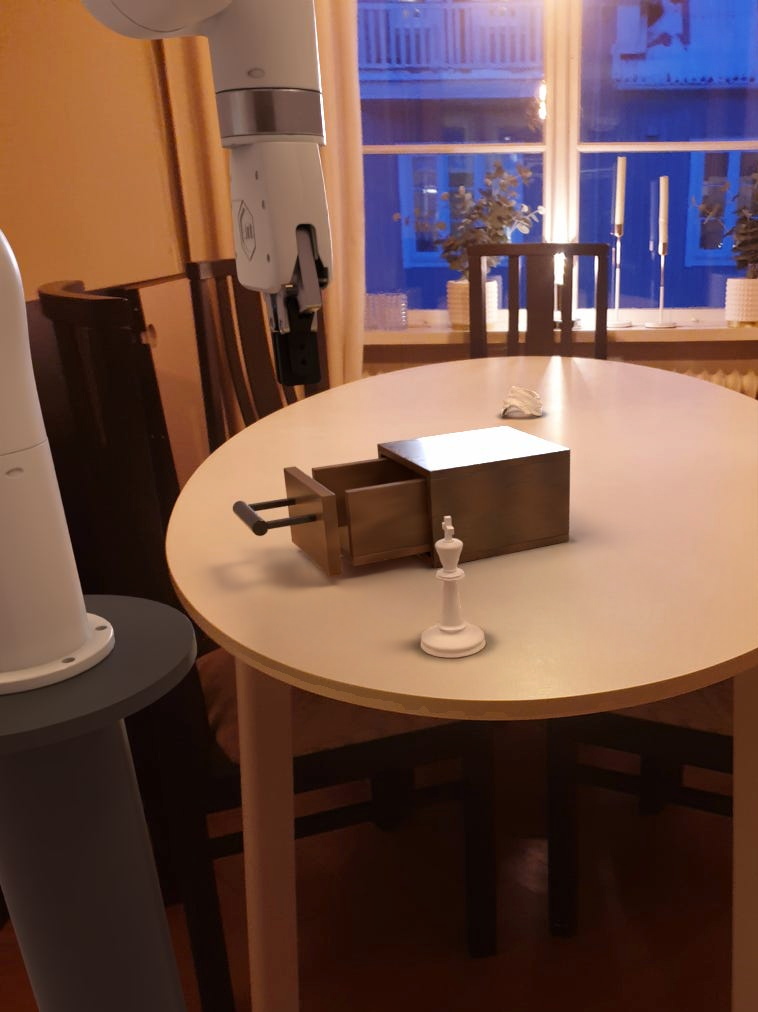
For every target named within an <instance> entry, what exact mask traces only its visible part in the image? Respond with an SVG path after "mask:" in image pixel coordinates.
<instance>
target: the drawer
mask: <svg viewBox="0 0 758 1012" xmlns="http://www.w3.org/2000/svg"><path fill="white" fill-rule="evenodd" d="M311 476H312V477H311ZM311 476H310V475H308V474H307V473H305V472H304V471H303V470H301V469H299V468H298V467H297V466H289V467H288V466H287V467H284V468H283V477H284V483H285V484H284V485H285V494H286V498H280V499H279V498H278V499H274V500H267V501H261V502H254V503H247V502H246V501H243V500H238V501H237V500H236V502H234V503H233V505H232V512H233V514H235V516H236V517H238V519H239V520H240V521H241V522H242V523H243V524H244V525H245V527H248V529H249V530H250V531H251V532H252V533H253V534H254V535H255V536H257V537H263V536H265V535H266V534H267V533H268V531H269V530H273V529H280V528H284V527H289V528H290V536H291V542H292V543H293V544H294V545H295V546H296V547H297V548H299V549H300V550H301V551H302V552H303V553H304V554H305V555H306V556H307V557H308V558H309V559H311V561H313V562H314V563H315V564H316V565H317V566H318V568H319V569H321V570H322V571H323V572H324V573H325V574H326V575H328V577H329V578H332V577H336V576H341V575H344V573H343V564H342V563H343V562H342V558H344V560H346V561H347V562H348V563H350V564H351V565H352V566H353V567H357V566H361V565H362V566H363V565H368V564H373V563H378V562H381V561H386V560H387V561H388V560H393V559H398V558H403V557H408V556H409V557H410V556H413V555H416V554H419V553H424V552H429V551H430V532H429V513H428V494H427V478H426V477H424V476H422V475H420V474H419V473H417V472H415V471H413V470H411V469H409V468H407V467H405V466H404V465H402V464H400V463H398V462H396V461H394V460H392V459H391V458H389V457H384V458H378V457H377V458H371V459H365V460H358V461H350V462H344V463H343V462H342V463H337V464H330V465H323V466H316V467H312V468H311ZM284 507H287V509H288V510H287V511H288V517H285V518H277V519H272V520H266V521H265V519H264V518H262V517H261V516H260V515H259V514H258V513H257V512H259V511H265V510H272V509H278V508H284Z"/></svg>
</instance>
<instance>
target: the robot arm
mask: <svg viewBox="0 0 758 1012" xmlns="http://www.w3.org/2000/svg"><path fill="white" fill-rule="evenodd" d="M80 2H81V4H82V5H83V7H84V8H85V9H86V10H87V12H88V13H89V14H90V15H91V16H92V17H93V18H94V19H95V20H96V21H98V22H99V23H100V24H101V25H103V26H104V27H105V28H107V29H109V30H110V31H112V32H114V33H116V34H118V35H121V36H124V37H127V38H131V39H136V40H142V41H143V40H145V41H152V40H166V39H174V38H187V37H205V38H207V42H208V51H209V59H210V66H211V74H212V81H213V82H212V83H213V90H214V95H215V104H216V112H217V120H218V121H217V122H218V128H219V129H218V130H219V135H220V136H219V137H220V147H221V148H222V149H229V192H230V193H229V194H230V207H231V209H230V210H231V220H232V221H231V222H232V232H233V243H234V254H235V264H236V266H235V267H236V276H237V280H238V282H239V283H240V284H241V286H242V287H244V289H247V290H249V291H254V292H255V291H256V292H260V293H261V294H262V299H263V301H264V302H265V304H266V311H267V317H268V323H269V329H270V330H271V333H270V334H271V343H272V351H273V359H274V361H273V362H274V369H275V377H276V378H275V379H276V382H277V383H278V384H280V385H282V386H284V387H297V386H305V385H306V386H307V385H314V384H319V383H320V382H321V381H322V373H321V362H320V351H319V343H318V342H319V341H318V334H317V333H318V310H320V309H321V308H322V305H323V302H322V301H323V300H322V296H321V291H325V290H326V289H328V288H329V286H330V285H331V284H332V282H333V280H334V258H333V257H334V255H333V244H332V233H331V223H330V215H329V214H330V213H329V208H328V207H329V205H328V200H327V192H326V185H325V178H324V173H323V172H324V171H323V166H322V161H321V160H322V159H321V155H320V149H319V148H323V147H326V146H327V140H326V139H327V138H326V130H325V117H324V105H323V94H322V93H323V91H322V81H321V68H320V57H319V47H318V46H319V45H318V33H317V32H318V31H317V21H316V11H315V10H316V9H315V0H80ZM28 325H29V323H28V316H27V306H26V297H25V290H24V286H23V281H22V276H21V271H20V269H19V265H18V261H17V259H16V255H15V254H14V250H13V248H12V247H11V244H10V242H9V241H8V239H7V237H6V235H5V233H4V232H3V230H2V229H1V228H0V695H7V694H14V693H21V692H26V691H30V690H35V689H39V688H43V687H46V686H50V685H53V684H56V683H59V682H62V681H64V680H67V679H70V678H72V677H75V676H77V675H79V674H81V673H83V672H85V671H87V670H89V669H90V668H92V667H94V666H95V665H97V664H98V663H100V662H101V661H102V660H103V659H104V658H105V657H107V656H108V655H109V653H110V652H111V650H112V649H113V648H114V644H115V637H114V632H113V628H112V626H111V624H110V623H109V622H108V621H107V620H105V619H104V618H102V617H99V616H97V615H94V614H90V613H87V612H86V608H85V603H84V599H83V595H84V594H83V590H82V586H81V581H80V577H79V572H78V568H77V563H76V559H75V555H74V550H73V546H72V541H71V537H70V533H69V532H70V531H69V527H68V523H67V519H66V518H67V517H66V514H65V509H64V505H63V501H62V496H61V491H60V487H59V482H58V478H57V474H56V470H55V464H54V460H53V456H52V455H53V454H52V451H51V447H50V441H49V438H48V436H47V431H46V427H45V422H44V417H43V414H42V408H41V404H40V398H39V394H38V390H37V384H36V378H35V374H34V367H33V362H32V361H33V360H32V353H31V346H30V335H29V326H28Z"/></svg>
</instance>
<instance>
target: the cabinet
mask: <svg viewBox="0 0 758 1012" xmlns="http://www.w3.org/2000/svg"><path fill="white" fill-rule="evenodd" d="M376 447H377V458H384V457H389V458H391V459H392V460H394V461H396V462H398V463H400V464H402V465H404V466H405V467H407V468H409V469H411V470H413V471H415V472H417V473H419V474H420V475H422V476H424V477H426V478H427V494H428V513H429V532H430V551H429V552H424V553H419V554H415V555H416V556H417V557H418V558H420V559H422V561H424V562H425V563H427V564H428V565H430V566H431V567H433V568H434V569H436V568H443V566H442V563H441V561H440V558H439V555H438V553H437V551H436V548H435V543H436V542H437V541H439V540H441V539H444V538H445V531H444V530H443V528H442V522H444V516H450V517H451V521H452V527H453V528H454V534H453V535H452V538H454V539H458V540H460V541H461V542H462V543H463V547H462V551H461V553H460V556H459V561H458V564H462V563H467V562H472V561H476V560H482V559H486V558H491V557H497V556H501V555H506V554H511V553H516V552H521V551H526V550H531V549H536V548H540V547H541V548H542V547H545V546H551V545H556V544H560V543H565V542H569V541H570V510H571V509H570V507H571V504H570V503H571V494H570V493H571V449H570V448H568V447H564V446H562V445H559V444H556V443H553V442H551V441H548V440H545V439H542V438H539V437H537V436H535V435H532V434H529V433H526V432H523V431H520V430H519V429H515V428H512V427H510V426H507V425H504V426H498V427H497V426H496V427H489V428H482V429H477V430H476V429H474V430H467V431H461V432H454V433H446V434H440V435H439V434H438V435H433V436H432V435H431V436H424V437H418V438H410V439H403V440H396V441H389V442H381V443H377V446H376Z"/></svg>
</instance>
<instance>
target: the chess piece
mask: <svg viewBox="0 0 758 1012" xmlns="http://www.w3.org/2000/svg"><path fill="white" fill-rule="evenodd" d="M442 528H443V530H444V531H445V538H444V539H441V540H439V541H437V542H436V543H435V548H436V551H437V553H438V555H439V558H440V561H441V563H442V567H441V568H440V569H438V570H437V571H436V574H435V578H436V579H437V580H439V581H443V592H442V593H443V595H442V606H441V615H440V616H441V617H440V620H439V621H438V622H437V623H436V624H435V625H432V626H430V627H428V628H426V629H425V630H424V631H423V632H422V634H421V636H420V649H422V651H423V652H424V653H426V654H428V655H430V656H434V657H438V658H445V659H448V658H449V659H452V658H453V659H454V658H455V659H456V658H463V657H469V656H471V655H474V654H476V653H478V652H480V651H481V650H482V649H483V648H484V647H485V646H486V639H485V633H484V631H483V630H482V629H481V628H480V627H478V626H476V625H474V624H472V623H469V622H468V621H467V620H465V619H464V616H463V611H462V607H461V601H460V594H459V586H458V581H460V580H462V579H463V578H465V576H466V575H465V571H464V570H463V569H462V568H458V564H459V563H458V561H459V556H460V553H461V551H462V547H463V543H462V542H461V541H460V540H458V539H454V538H452V535H453V534H454V528H453V527H452V521H451V517H450V516H444V522H442Z"/></svg>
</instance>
